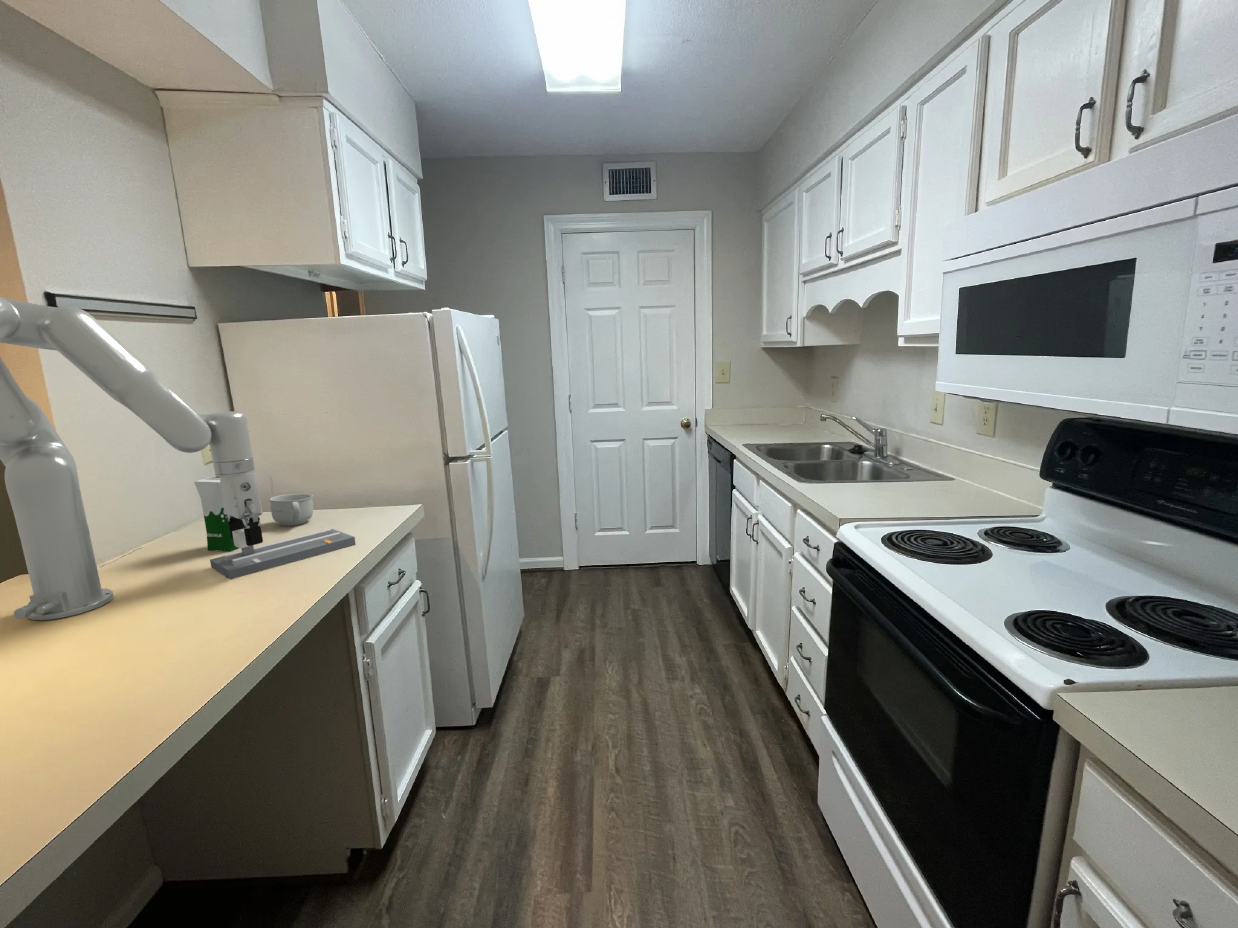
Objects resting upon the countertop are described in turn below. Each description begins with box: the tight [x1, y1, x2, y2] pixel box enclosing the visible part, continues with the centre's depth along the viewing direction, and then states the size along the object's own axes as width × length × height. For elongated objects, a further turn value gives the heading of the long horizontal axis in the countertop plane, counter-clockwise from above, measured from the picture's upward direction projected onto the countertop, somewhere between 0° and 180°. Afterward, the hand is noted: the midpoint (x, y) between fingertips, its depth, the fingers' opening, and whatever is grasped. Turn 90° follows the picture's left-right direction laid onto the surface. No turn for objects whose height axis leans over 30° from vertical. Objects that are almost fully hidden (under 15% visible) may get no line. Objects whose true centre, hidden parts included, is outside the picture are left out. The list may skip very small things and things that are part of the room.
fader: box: [232, 528, 255, 557], centre depth 134 cm, size 4×3×6 cm
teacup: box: [269, 493, 314, 527], centre depth 167 cm, size 14×11×8 cm
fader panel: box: [209, 528, 356, 580], centre depth 141 cm, size 28×12×3 cm, turn 141°
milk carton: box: [193, 475, 249, 553], centre depth 148 cm, size 9×9×20 cm
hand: (246, 540), depth 134 cm, fingers open, 9 cm apart
